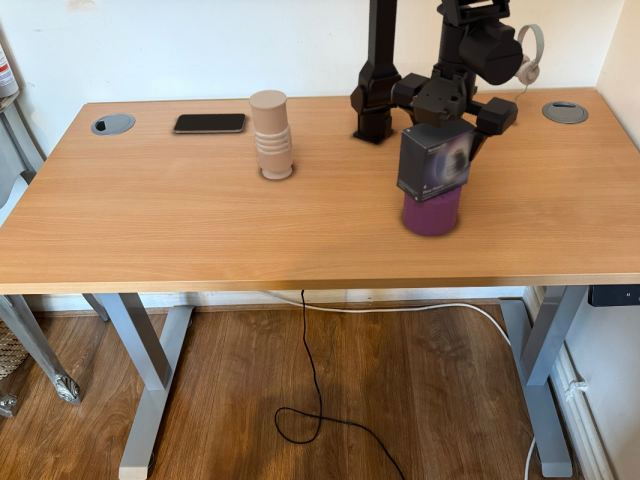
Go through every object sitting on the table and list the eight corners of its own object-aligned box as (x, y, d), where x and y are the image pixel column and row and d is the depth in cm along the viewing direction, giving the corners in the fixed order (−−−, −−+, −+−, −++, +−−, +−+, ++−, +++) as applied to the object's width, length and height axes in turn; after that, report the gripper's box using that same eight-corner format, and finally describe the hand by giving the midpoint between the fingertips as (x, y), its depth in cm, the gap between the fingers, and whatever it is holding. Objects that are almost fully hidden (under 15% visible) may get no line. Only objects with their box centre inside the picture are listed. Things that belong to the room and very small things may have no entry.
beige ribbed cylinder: (287, 183, 102) (279, 110, 91) (254, 177, 104) (242, 105, 93) (299, 163, 107) (293, 92, 96) (267, 158, 108) (257, 87, 97)
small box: (419, 206, 85) (425, 148, 77) (394, 186, 89) (398, 129, 81) (469, 184, 88) (480, 126, 81) (444, 166, 92) (451, 109, 85)
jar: (392, 223, 93) (395, 190, 88) (420, 197, 98) (423, 164, 93) (439, 243, 89) (444, 210, 84) (465, 215, 94) (471, 181, 89)
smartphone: (241, 129, 115) (172, 130, 115) (242, 132, 115) (173, 133, 116) (245, 113, 120) (179, 114, 120) (246, 115, 120) (180, 116, 121)
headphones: (529, 130, 113) (554, 32, 98) (512, 133, 112) (535, 35, 98) (512, 111, 119) (533, 16, 104) (495, 114, 118) (514, 19, 104)
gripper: (372, 60, 75) (370, 156, 86) (495, 95, 67) (474, 196, 78) (413, 33, 81) (406, 126, 92) (531, 63, 73) (507, 161, 84)
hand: (445, 151), depth 87 cm, fingers open, 9 cm apart
